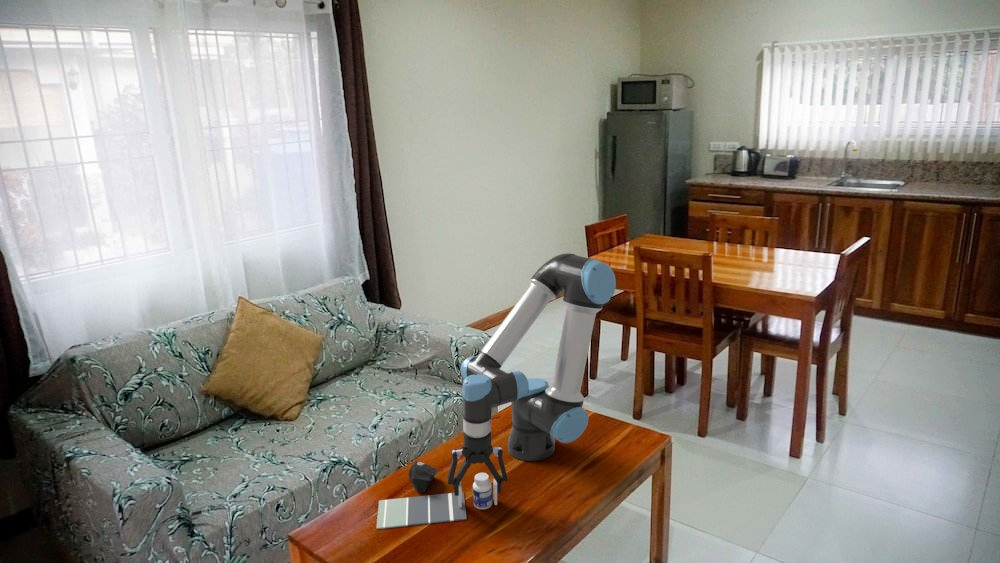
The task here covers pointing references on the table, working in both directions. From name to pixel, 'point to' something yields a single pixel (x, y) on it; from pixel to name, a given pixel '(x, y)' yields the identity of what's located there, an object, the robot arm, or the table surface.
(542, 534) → the table surface
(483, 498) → the pill bottle
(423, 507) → the lane
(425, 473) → the rock
